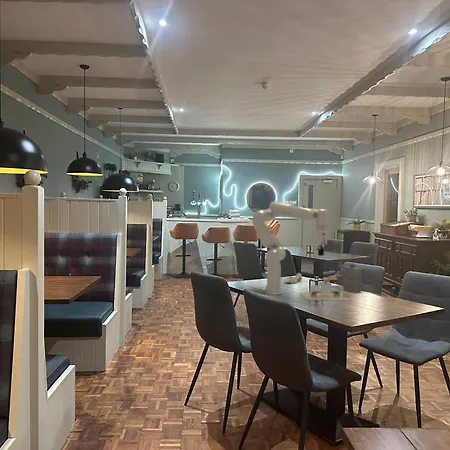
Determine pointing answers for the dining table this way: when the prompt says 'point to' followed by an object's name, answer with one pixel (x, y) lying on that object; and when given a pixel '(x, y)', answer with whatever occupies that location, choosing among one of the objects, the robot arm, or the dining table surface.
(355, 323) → the dining table surface
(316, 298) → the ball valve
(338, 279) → the valve lever
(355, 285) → the flask
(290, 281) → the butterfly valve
